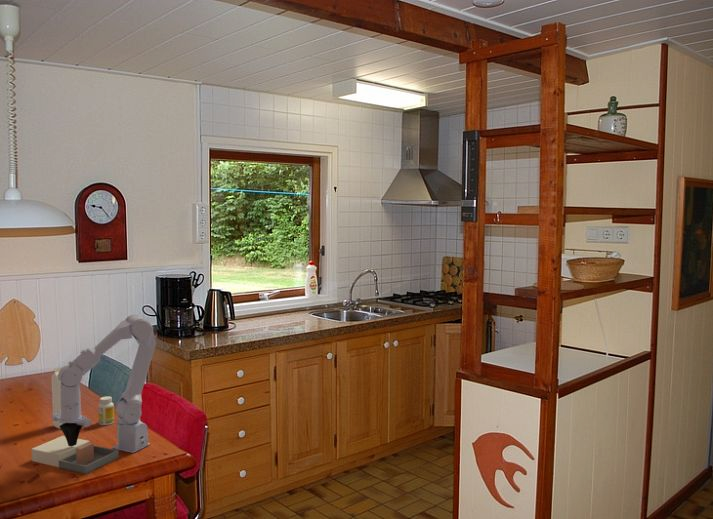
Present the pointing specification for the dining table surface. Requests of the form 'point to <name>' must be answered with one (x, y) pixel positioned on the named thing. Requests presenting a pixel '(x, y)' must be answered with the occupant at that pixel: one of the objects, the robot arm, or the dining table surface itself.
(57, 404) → the milk
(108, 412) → the supplement bottle
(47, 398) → the dining table surface
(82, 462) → the block
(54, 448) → the cream square platform
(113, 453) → the tray
